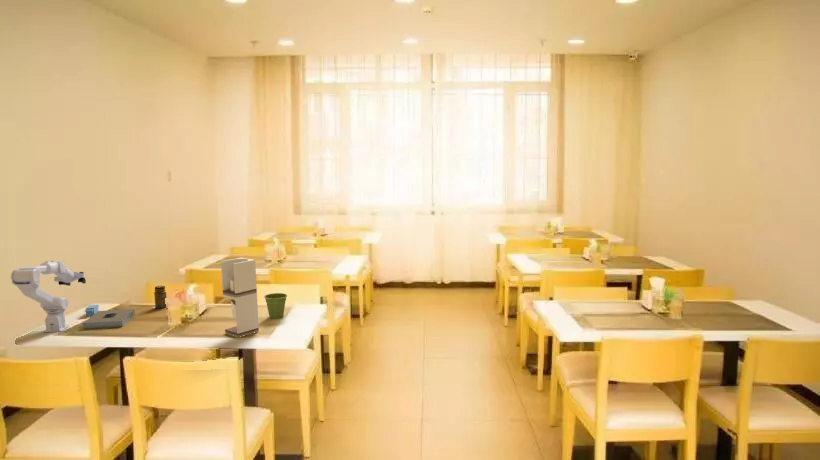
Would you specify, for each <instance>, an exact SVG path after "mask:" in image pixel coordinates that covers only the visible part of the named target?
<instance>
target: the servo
mask: <svg viewBox="0 0 820 460" xmlns="http://www.w3.org/2000/svg"><path fill="white" fill-rule="evenodd" d="M99 306H100V304H90V305H88V306H86V307H85V309H84V312H85V315H86V317H91V316H93V315H94V314H95V313H97V312H98V311H99Z"/></svg>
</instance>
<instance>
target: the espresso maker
mask: <svg viewBox="0 0 820 460" xmlns="http://www.w3.org/2000/svg"><path fill="white" fill-rule="evenodd" d="M220 268H221V271H220V272H221V283H222V284H221V285H222V286H221V287H222V298H225V299H229V300H230V301H231V302H230V303H231V315H232V318H233V319H235V320H236V326H232V327H229V328H226V329H225V330H224V334H225V333H227V334H226V335H228V334H230V335H229V336H231V335H234V336H237V337H240V336H243V335H247V334H250V333H253V334H255V333H254V332H257V331H259V329H260V327H259V311H258V293H257V292H258V291H257V289H258V287H257V271H256V269H257V268H256V259H251V258H246V257H237V258H233V259H232V258H231V259H226V260H220ZM259 332H260V331H259ZM257 333H258V332H257ZM250 335H251V334H250ZM234 336H233V337H234ZM247 336H248V335H247ZM237 337H236V338H237ZM243 337H244V336H243ZM240 338H241V337H240Z"/></svg>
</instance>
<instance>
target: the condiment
mask: <svg viewBox="0 0 820 460" xmlns="http://www.w3.org/2000/svg"><path fill="white" fill-rule="evenodd" d="M153 293H154V306H152V308H153V309H154V310H156V311H161V310H167V309H166V304H165V298H167V291H166V286H165V285H156V286H155V287H154V292H153Z"/></svg>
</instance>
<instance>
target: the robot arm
mask: <svg viewBox="0 0 820 460" xmlns="http://www.w3.org/2000/svg"><path fill="white" fill-rule="evenodd" d="M50 274H54V275H55V276H54V277H53V278H54V280H53V281H54V282H57V283H58V285H59V286H62V285H63V286H71V283H73V282H75V281H77V283H82V284H86V273H85V272H83V271H79V272H78V271H73V270H72V269H70V268H68V267H67V266H66V265H65V262H64V261H60V260H59V261H56V260H51V261H49V260H45V261H44V262H42V263H41V264H39V265H35V266H34V265H33V266H25V267H20V268H18V269H17V268H16V269H15V268H14V269H13V270H12V272H11V274H10V279H11V284H12V285H14V286H16V287H17V288H18V289H19V290H20V292H21V293H22V294H23V296H26V297H27V298H28V299H31V300H33V301H34V302H37V303H39V305H40V307H41V309H43V311H44V312H45V313H46V315H47V316H46V317H45V319H44V322H45V330H44V332H43V333H54V332H55V333H57V332H63V331H64V330H66V329H67V328H68V327H69V326H70V325H69V324H66V315H65V311H66V310H67V308H68V306H69V302H68V300H67V297H60V296H53V295H51V294H50V293H48V292H46V291H45V290H42V289H40V284H41V283H40V277H41V275H46V276H47V275H50Z"/></svg>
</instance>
